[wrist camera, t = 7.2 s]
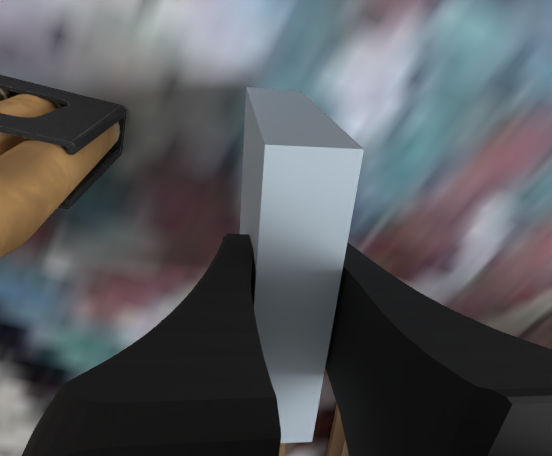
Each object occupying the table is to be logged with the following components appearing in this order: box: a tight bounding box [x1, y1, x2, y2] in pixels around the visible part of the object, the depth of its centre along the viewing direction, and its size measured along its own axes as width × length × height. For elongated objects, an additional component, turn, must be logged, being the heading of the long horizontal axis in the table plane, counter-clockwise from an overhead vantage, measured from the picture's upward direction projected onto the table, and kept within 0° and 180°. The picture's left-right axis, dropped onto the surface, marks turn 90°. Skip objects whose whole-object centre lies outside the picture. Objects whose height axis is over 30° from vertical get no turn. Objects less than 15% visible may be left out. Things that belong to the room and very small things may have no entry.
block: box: [240, 87, 364, 443], centre depth 12 cm, size 2×8×7 cm, turn 176°
